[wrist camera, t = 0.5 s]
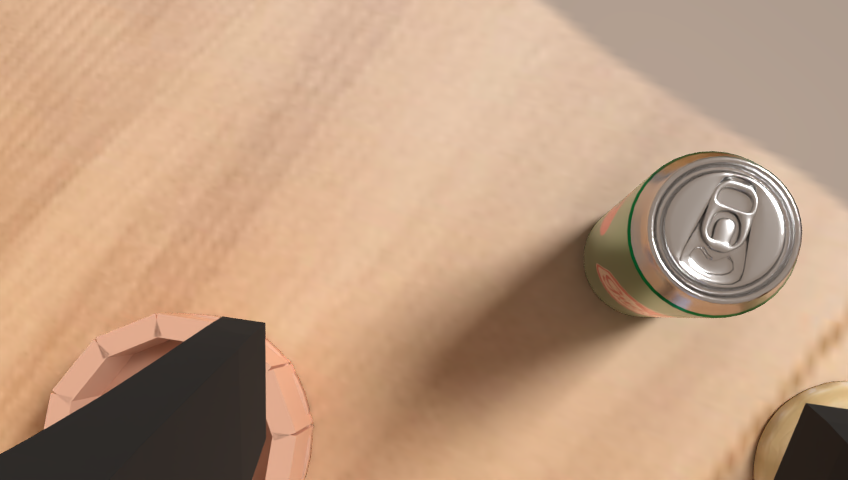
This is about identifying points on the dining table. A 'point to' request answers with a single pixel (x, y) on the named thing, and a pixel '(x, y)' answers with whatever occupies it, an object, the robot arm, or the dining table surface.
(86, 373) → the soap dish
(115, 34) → the dining table surface
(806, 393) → the hand bell
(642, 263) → the soda can
